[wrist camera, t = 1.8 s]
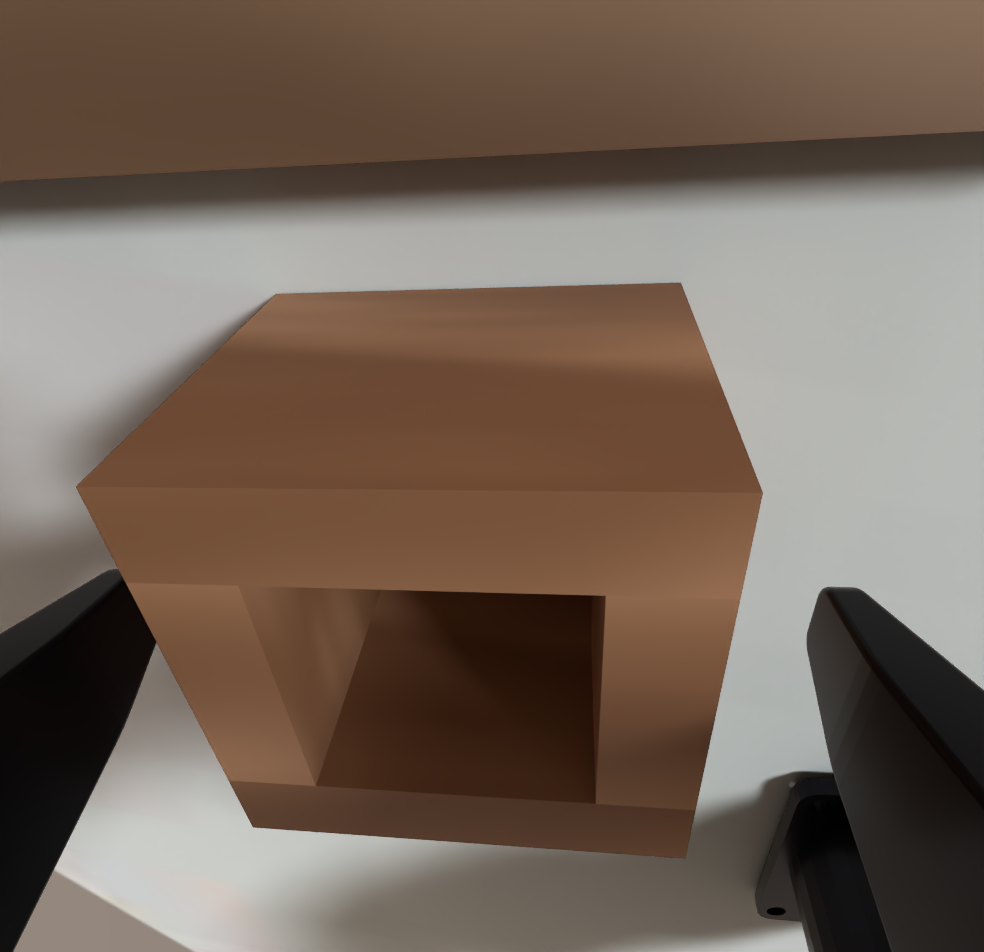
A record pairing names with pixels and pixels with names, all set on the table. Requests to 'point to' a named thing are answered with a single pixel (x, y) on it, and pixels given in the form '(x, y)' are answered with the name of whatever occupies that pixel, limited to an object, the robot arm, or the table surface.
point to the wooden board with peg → (465, 78)
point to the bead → (448, 561)
